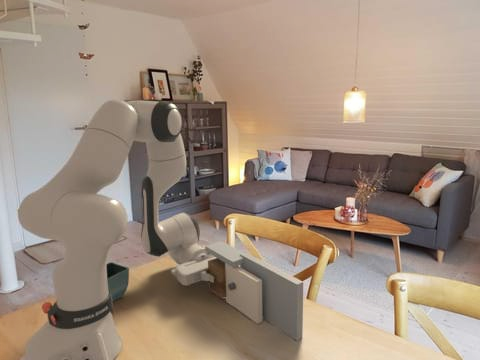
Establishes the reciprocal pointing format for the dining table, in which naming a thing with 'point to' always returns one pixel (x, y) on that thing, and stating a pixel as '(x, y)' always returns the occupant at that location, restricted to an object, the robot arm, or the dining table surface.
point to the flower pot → (117, 279)
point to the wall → (269, 288)
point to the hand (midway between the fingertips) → (222, 276)
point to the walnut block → (219, 270)
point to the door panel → (244, 292)
